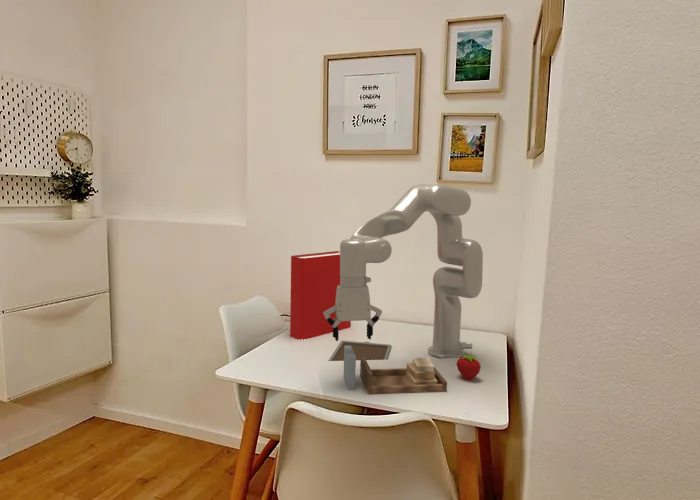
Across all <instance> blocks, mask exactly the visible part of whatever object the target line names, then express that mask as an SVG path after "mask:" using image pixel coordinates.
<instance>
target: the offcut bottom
mask: <svg viewBox="0 0 700 500" xmlns="http://www.w3.org/2000/svg"><path fill="white" fill-rule="evenodd" d="M406 378H407V379H408V381H409V382H410V384H411V385H423V384H437V383H438V381H437V380H436V378H435V379H434V380H418V381H415V380H414V379H413V377H412V376H411V375H410V374H409V373H408V372H407V371H406Z"/></svg>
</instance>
